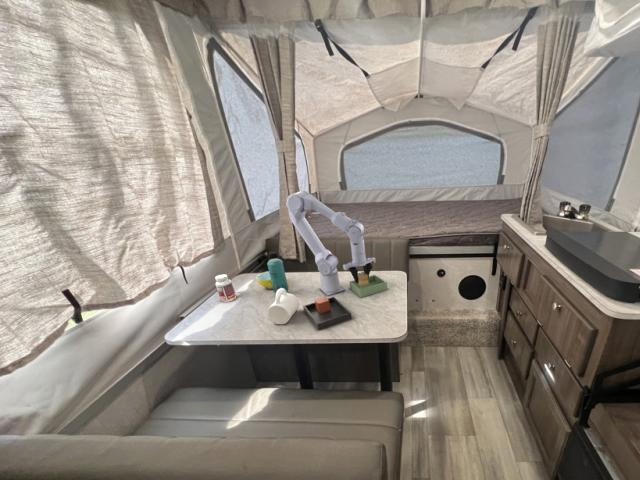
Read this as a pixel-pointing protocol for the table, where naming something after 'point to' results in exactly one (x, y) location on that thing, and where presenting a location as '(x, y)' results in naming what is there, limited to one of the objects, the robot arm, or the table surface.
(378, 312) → the table surface
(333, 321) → the pan
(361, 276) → the beech block
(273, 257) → the beverage bottle
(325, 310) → the terracotta block
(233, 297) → the pill bottle
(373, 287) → the bin
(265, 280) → the bowl
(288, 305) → the mug
